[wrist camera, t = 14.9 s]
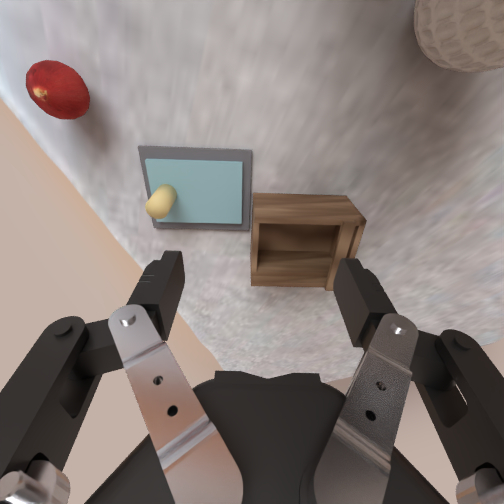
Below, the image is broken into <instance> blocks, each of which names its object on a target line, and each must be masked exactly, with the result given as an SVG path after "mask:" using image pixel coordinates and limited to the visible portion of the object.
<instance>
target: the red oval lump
mask: <svg viewBox="0 0 504 504" xmlns="http://www.w3.org/2000/svg"><path fill="white" fill-rule="evenodd" d="M26 87H27V90H28V93H29V95H30V97H31V99H32V100H33V101H34V102H35V103H36V104H37V105H38V106H39V107H40V108H41V109H42V110H44V111H45V112H46V113H47V114H49V115H51V116H54V117H56V118H58V119H76V118H78V117H81V116H82V115H84V114H85V113H86V111H87V110H88V108H89V102H90V96H89V92H88V88H87V87H86V85H85V83H84V81H83V79H82V78H81V76H80V75H79V74H78V73H77V72H76V71H75V70H74V69H73V68H71V67H69V66H67V65H65V64H63V63H61V62H58V61H50V60H45V61H41V62H38V63H35V64H33V65H32V67H31V68H30V69H29V71H28V72H27V74H26Z"/></svg>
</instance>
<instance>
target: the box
mask: <svg viewBox="0 0 504 504" xmlns="http://www.w3.org/2000/svg"><path fill="white" fill-rule="evenodd" d="M366 221H367V220H366V219H365V218H364V217H363V216H362V214H361V213H360V212H359V211H358V209H357V208H356V207H355V206H354V205H353V203H352V202H351V201H350V200H349V199H348V197H347V196H338V195H306V194H274V193H253V208H252V230H251V253H250V259H251V286H279V287H325V290H326V291H333V282H334V278H335V275H336V272H337V269H338V265H339V262H340V260H341V259H342V258H355V255H356V252H357V249H358V246H359V243H360V240H361V237H362V234H363V230H364V227H365V224H366Z"/></svg>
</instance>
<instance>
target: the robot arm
mask: <svg viewBox="0 0 504 504" xmlns="http://www.w3.org/2000/svg"><path fill="white" fill-rule="evenodd" d="M184 283H185V272H184V265H183V257H182V252H181V251H167V250H166V251H165V252H164V254H163V256H162V258H161V260H154V261H152V262H151V263H150V264H149V265H148V266H146V268H145V270H144V272H143V275H142V276H141V278H140V280H139V282H138V283H137V286H136V287H135V289H134V291H133V293H132V295H131V297H130V299H129V301H128V302H127V304H126V306H123V307H121V308H119V309H117V310H116V311H114V312H113V313H112V314H111V316H110V317H109V318H108V319H105V320H101V321H97V322H92V323H87V324H85V322H84V321H83V319H81V318H80V317H76V316H70V317H65V318H61V319H59V320H57V321H55V322H53V323H52V324H50V325H49V326H48V327H47V328H46V329H45V330H44V331H43V333H42V334H41V336H40V337H39V339H38V340H37V341H36V343H35V344H34V346H33V347H32V348H31V350H30V351H29V353H28V354H27V355H26V357H25V358H24V360H23V361H22V362H21V364H20V366H19V367H18V368H17V370H16V371H15V372H14V374H13V375H12V377H11V378H10V379H9V381H8V382H7V384H6V385H5V387H4V388H3V389H2V391H1V392H0V504H67V503H68V498H69V495H70V482H69V479H68V478H67V477H66V475H65V474H64V473H62V470H63V468H64V466H65V463H66V461H67V459H68V456H69V454H70V451H71V449H72V447H73V444H74V442H75V439H76V437H77V435H78V432H79V430H80V427H81V425H82V423H83V420H84V418H85V416H86V413H87V411H88V408H89V406H90V403H91V401H92V399H93V396H94V394H95V392H96V389H97V387H98V384H99V382H100V380H101V377H102V374H104V373H107V372H111V371H114V370H118V369H122V368H125V371H126V374H127V376H128V379H129V381H130V384H131V387H132V390H133V392H134V394H135V397H136V400H137V403H138V405H139V408H140V411H141V413H142V416H143V418H144V421H145V424H146V426H147V429H148V431H149V434H148V435H147V436H146V437H145V438H144V440H143V441H142V442H141V443H140V444H139V445H138V446H137V447H136V448H135V449H134V450H133V451H132V452H131V453H130V455H129V456H128V457H127V458H126V459H125V460H124V461H123V462H122V463H121V464H120V465H119V467H118V468H117V469H116V470H115V471H114V472H113V473H112V474H111V475H110V476H109V477H108V478H107V479H106V480H105V482H104V483H103V484H102V485H101V486H100V487H99V488H98V489H97V490H96V491H95V492H94V493H93V494H92V496H91V497H90V498H89V499H88V500H87V501H86V502H85V503H84V504H449V502H447V500H446V499H445V498H444V497H443V496H442V495H441V494H440V493H439V492H438V491H437V490H436V489H435V488H434V487H433V486H432V485H431V484H430V483H429V482H428V481H427V480H426V479H425V477H424V476H423V475H422V474H421V473H420V472H419V471H418V470H417V469H416V468H415V467H414V466H413V465H412V464H411V463H410V462H409V461H408V460H407V459H406V458H405V457H404V456H403V455H402V454H401V453H400V452H399V450H398V449H397V448H396V447H395V446H394V443H395V439H396V435H397V431H398V427H399V423H400V420H401V415H402V412H403V408H404V404H405V400H406V397H407V393H408V389H409V385H410V381H414V382H415V384H416V387H417V389H418V391H419V393H420V395H421V398H422V400H423V402H424V404H425V406H426V409H427V411H428V413H429V415H430V418H431V420H432V422H433V424H434V426H435V429H436V431H437V433H438V435H439V438H440V440H441V442H442V444H443V446H444V449H445V451H446V453H447V455H448V458H449V459H450V462H451V464H452V466H453V469H454V471H455V473H456V475H457V477H458V480H459V483H458V484H457V487H456V498H457V502H458V504H504V378H503V376H502V375H501V373H500V372H499V371H498V369H497V368H496V367H495V365H494V364H493V363H492V361H491V360H490V359H489V357H488V356H487V355H486V353H485V352H484V351H483V349H482V348H481V347H480V345H479V344H478V343H477V342H476V341H475V340H474V339H473V338H471V337H470V336H468V335H467V334H465V333H463V332H460V331H457V330H452V329H448V330H444V331H443V332H442V333H441V335H440V336H437V335H434V334H430V333H427V332H423V331H420V330H418V329H417V327H416V326H415V324H414V323H413V322H412V321H410V320H409V319H408V318H406V317H404V316H402V315H399V314H398V313H397V311H396V310H395V308H394V306H393V305H392V303H391V301H390V299H389V298H388V296H387V294H386V293H385V292H384V289H383V287H382V286H381V285H380V282H379V281H378V279H377V277H376V276H375V275H374V274H373V273H372V272H371V271H370V270H368V269H363V267H362V265H361V263H360V261H359V260H358V259H355V258H342V259H341V260H340V262H339V265H338V269H337V272H336V275H335V278H334V282H333V291H334V294H335V297H336V300H337V303H338V305H339V308H340V311H341V314H342V317H343V319H344V322H345V325H346V328H347V331H348V333H349V336H350V339H351V342H352V345H353V347H362V348H363V350H364V354H363V356H362V358H361V360H360V363H359V365H358V367H357V369H356V371H355V374H354V376H353V378H352V380H351V382H350V384H349V387H348V389H347V391H346V393H345V395H344V394H343V393H342V392H340V391H339V390H337V389H335V388H334V387H332V386H330V385H328V384H325V383H322V382H321V381H320V376H319V373H291V374H287V375H283V376H278V377H274V378H270V379H266V378H262V377H259V376H255V375H252V374H248V373H245V372H241V371H215V378H214V379H211V380H208V381H206V382H203V383H201V384H199V385H197V386H196V387H194V388H193V389H192V388H191V386H190V384H189V383H188V381H187V379H186V377H185V376H184V374H183V372H182V370H181V368H180V366H179V365H178V363H177V361H176V360H175V357H174V356H173V354H172V352H171V350H170V349H169V347H168V345H167V343H166V342H165V341H167V340H168V337H169V333H170V330H171V327H172V323H173V320H174V317H175V314H176V311H177V307H178V304H179V301H180V298H181V294H182V291H183V288H184ZM163 341H164V342H163ZM456 384H457V386H458V387H459V389H460V391H461V393H462V394H463V396H464V398H465V400H466V402H467V405H466V402H465V401H464V399H463V397H462V395H461V394H460V392H459V390H458V388H457V387H456Z"/></svg>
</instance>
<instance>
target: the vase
mask: <svg viewBox="0 0 504 504" xmlns="http://www.w3.org/2000/svg"><path fill="white" fill-rule="evenodd" d="M414 30H415V35H416V38H417V41H418V44H419V46H420V48H421V50H422V52H423V53H424V54H425V56H426V57H427V58H428V59H429V60H431V61H432V62H433V63H435V64H436V65H438V66H440V67H442V68H445V69H448V70H453V71H459V72H483V71H488V70H493V69H498V68H502V67H504V0H416V2H415V8H414Z"/></svg>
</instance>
